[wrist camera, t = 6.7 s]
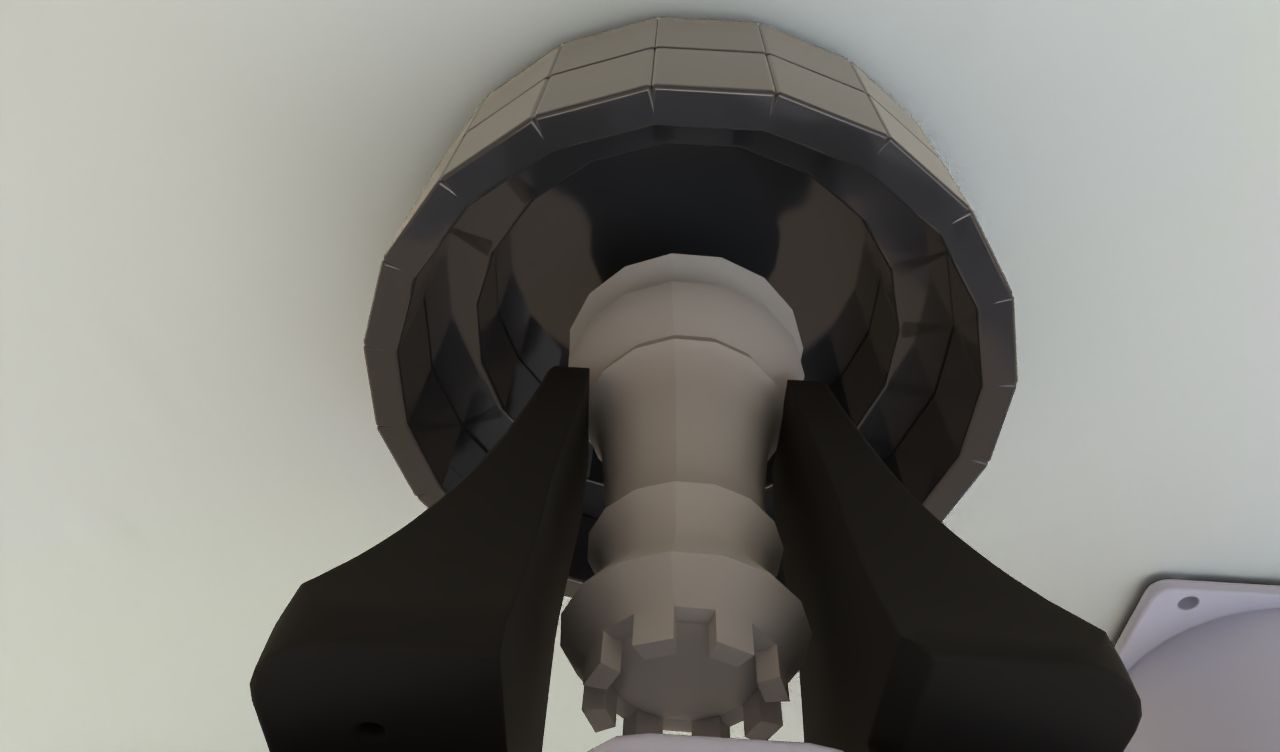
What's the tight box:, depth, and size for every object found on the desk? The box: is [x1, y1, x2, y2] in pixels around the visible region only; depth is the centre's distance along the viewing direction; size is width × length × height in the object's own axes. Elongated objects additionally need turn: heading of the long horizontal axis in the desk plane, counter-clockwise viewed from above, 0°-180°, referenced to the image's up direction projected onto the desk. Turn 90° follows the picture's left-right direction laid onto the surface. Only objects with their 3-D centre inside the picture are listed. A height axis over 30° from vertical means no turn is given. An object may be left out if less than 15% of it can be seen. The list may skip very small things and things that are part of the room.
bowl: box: [364, 17, 1018, 598], centre depth 17 cm, size 11×11×4 cm
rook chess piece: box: [560, 253, 812, 740], centre depth 14 cm, size 4×4×8 cm
